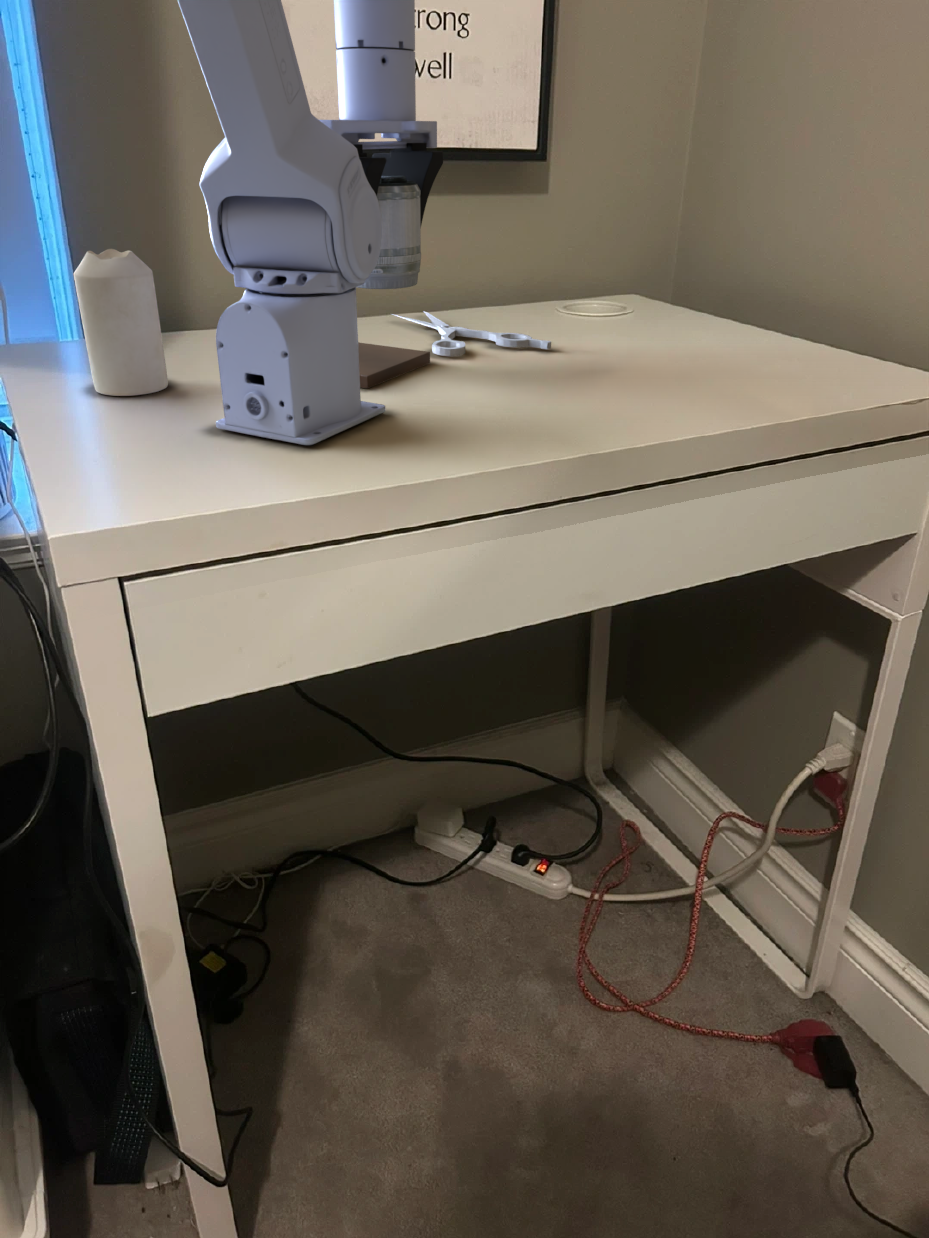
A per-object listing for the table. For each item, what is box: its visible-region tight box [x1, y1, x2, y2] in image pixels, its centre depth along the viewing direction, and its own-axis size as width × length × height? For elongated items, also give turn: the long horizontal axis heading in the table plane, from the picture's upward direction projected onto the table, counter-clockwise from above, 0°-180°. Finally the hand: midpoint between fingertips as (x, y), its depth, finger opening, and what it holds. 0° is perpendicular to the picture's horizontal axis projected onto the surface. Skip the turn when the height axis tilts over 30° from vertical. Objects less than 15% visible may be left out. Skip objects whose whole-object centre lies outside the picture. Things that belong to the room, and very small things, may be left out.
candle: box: [73, 248, 169, 397], centre depth 69 cm, size 6×6×10 cm
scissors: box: [391, 310, 552, 357], centre depth 90 cm, size 11×1×20 cm
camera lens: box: [356, 175, 422, 290], centre depth 72 cm, size 6×6×8 cm
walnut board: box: [358, 341, 431, 390], centre depth 78 cm, size 10×10×1 cm
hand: (381, 252), depth 73 cm, fingers closed on camera lens, 6 cm apart
